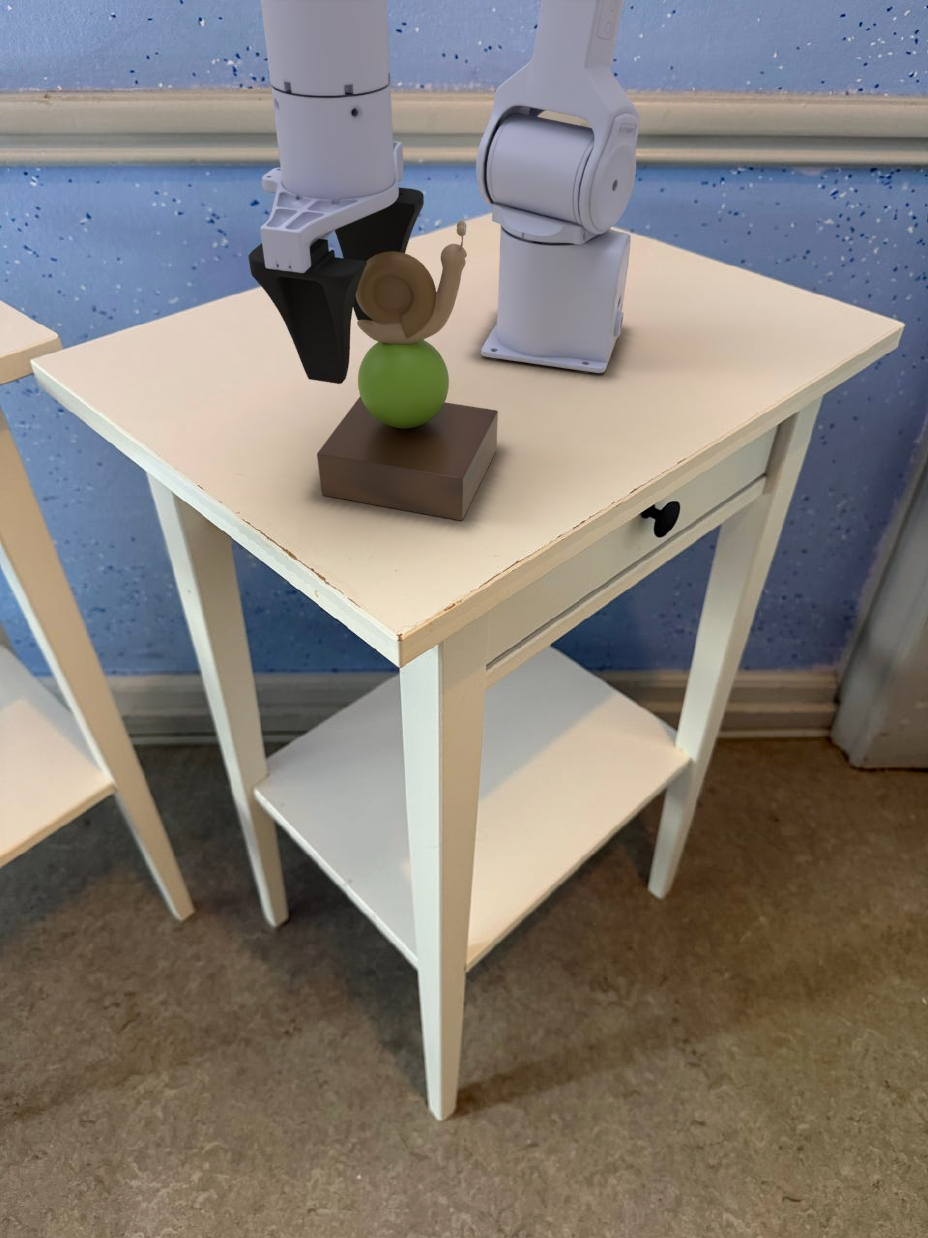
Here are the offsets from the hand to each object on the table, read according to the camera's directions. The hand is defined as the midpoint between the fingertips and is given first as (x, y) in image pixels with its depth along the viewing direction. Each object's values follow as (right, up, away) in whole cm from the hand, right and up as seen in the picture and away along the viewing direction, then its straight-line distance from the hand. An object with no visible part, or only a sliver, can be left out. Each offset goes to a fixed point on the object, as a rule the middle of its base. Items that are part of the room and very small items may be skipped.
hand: (352, 348), depth 53 cm
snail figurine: (+3, -4, +4) cm, 6 cm away
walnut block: (+3, -6, +5) cm, 9 cm away
